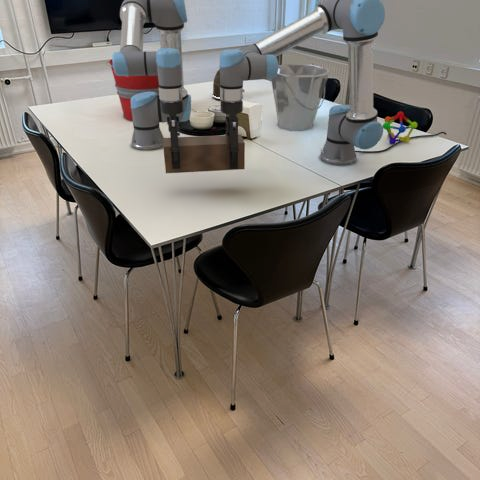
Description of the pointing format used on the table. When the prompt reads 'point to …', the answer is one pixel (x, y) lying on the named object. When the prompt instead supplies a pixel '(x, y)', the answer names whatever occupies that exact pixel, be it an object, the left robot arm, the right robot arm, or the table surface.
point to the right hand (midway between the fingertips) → (232, 163)
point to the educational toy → (398, 128)
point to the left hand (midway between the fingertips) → (176, 161)
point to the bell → (216, 84)
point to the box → (203, 154)
